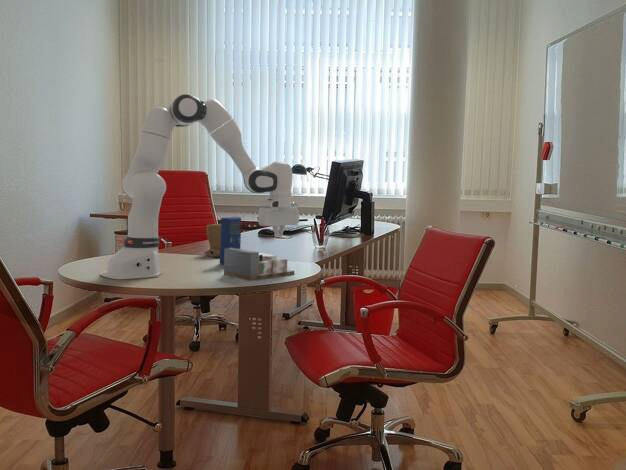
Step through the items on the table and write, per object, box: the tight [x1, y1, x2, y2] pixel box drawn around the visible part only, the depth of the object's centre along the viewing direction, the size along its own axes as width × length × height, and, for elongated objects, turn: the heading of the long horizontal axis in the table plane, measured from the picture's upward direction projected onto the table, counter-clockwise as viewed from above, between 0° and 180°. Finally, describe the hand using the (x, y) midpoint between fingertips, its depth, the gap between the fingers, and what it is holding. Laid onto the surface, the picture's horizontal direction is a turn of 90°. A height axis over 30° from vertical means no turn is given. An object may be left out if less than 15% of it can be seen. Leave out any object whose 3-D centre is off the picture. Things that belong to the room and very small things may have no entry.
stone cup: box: [204, 223, 221, 258], centre depth 303 cm, size 15×12×15 cm
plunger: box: [259, 252, 277, 262], centre depth 256 cm, size 6×12×6 cm, turn 48°
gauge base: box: [223, 258, 295, 282], centre depth 255 cm, size 24×15×6 cm, turn 138°
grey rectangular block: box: [223, 248, 260, 277], centre depth 248 cm, size 4×15×9 cm, turn 48°
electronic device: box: [219, 216, 242, 266], centre depth 280 cm, size 10×5×20 cm, turn 152°
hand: (278, 236), depth 262 cm, fingers closed
